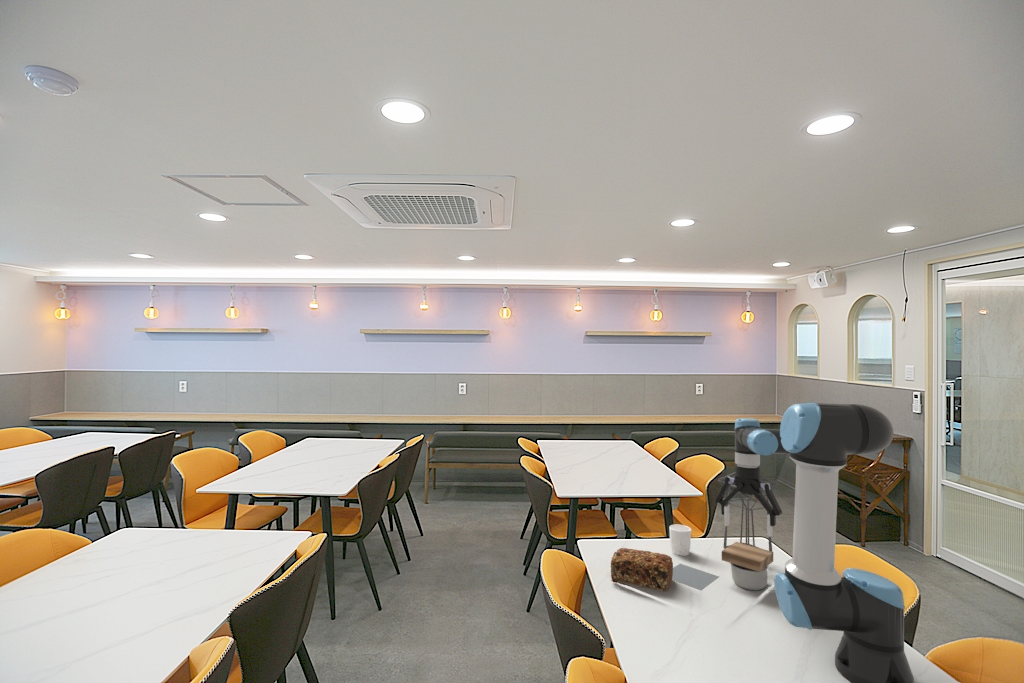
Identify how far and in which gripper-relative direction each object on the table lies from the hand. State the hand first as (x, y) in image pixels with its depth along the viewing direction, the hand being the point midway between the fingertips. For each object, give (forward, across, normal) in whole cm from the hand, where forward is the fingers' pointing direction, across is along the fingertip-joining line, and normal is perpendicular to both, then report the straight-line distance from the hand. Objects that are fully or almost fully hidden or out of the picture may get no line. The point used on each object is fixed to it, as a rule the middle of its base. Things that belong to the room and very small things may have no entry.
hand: (747, 530), depth 162 cm
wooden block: (+10, 0, 0) cm, 10 cm away
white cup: (+18, +27, -8) cm, 34 cm away
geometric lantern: (+18, +6, -18) cm, 26 cm away
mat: (+18, +15, +10) cm, 26 cm away
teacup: (+18, 0, 0) cm, 18 cm away
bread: (+18, +25, +24) cm, 39 cm away
